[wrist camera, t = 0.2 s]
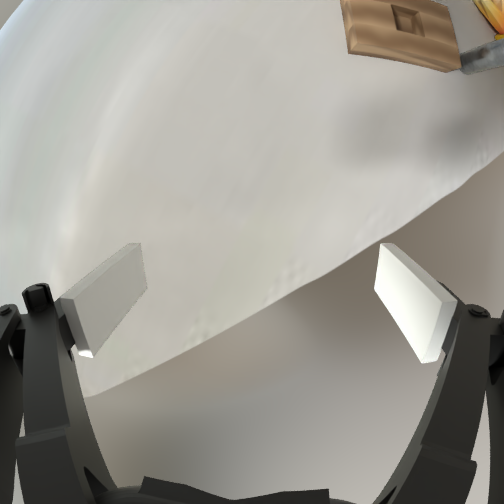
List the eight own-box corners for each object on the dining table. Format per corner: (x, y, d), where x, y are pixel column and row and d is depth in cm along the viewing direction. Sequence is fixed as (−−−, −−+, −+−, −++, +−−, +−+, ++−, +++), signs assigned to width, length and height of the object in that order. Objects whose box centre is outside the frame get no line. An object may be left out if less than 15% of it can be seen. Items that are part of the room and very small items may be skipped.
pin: (454, 51, 30) (509, 30, 15) (470, 57, 30) (525, 40, 15) (457, 71, 31) (516, 54, 16) (473, 77, 31) (531, 64, 16)
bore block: (338, -6, 29) (345, -21, 24) (433, 15, 28) (447, 6, 23) (348, 53, 33) (357, 43, 28) (445, 72, 32) (461, 67, 27)
